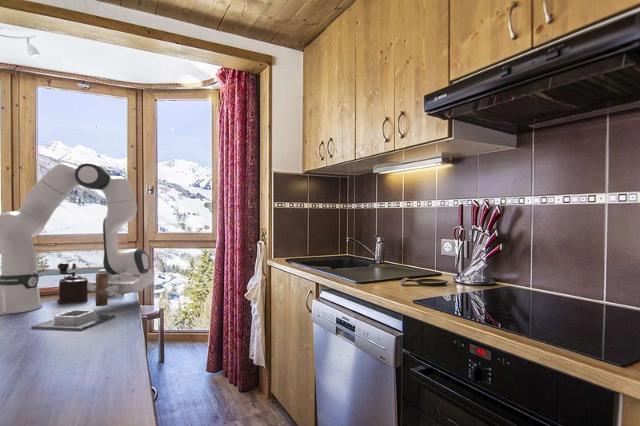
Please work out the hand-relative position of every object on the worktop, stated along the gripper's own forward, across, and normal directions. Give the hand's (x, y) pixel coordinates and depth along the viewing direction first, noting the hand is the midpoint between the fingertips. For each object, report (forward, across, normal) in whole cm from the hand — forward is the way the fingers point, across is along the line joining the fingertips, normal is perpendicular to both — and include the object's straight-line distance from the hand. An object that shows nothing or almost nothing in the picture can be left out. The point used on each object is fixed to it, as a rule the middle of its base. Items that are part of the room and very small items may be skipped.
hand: (100, 289), depth 138 cm
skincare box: (-30, -21, +10) cm, 38 cm away
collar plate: (+12, 0, +9) cm, 15 cm away
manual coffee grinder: (-16, -26, +10) cm, 32 cm away
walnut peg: (-1, 0, +6) cm, 6 cm away
